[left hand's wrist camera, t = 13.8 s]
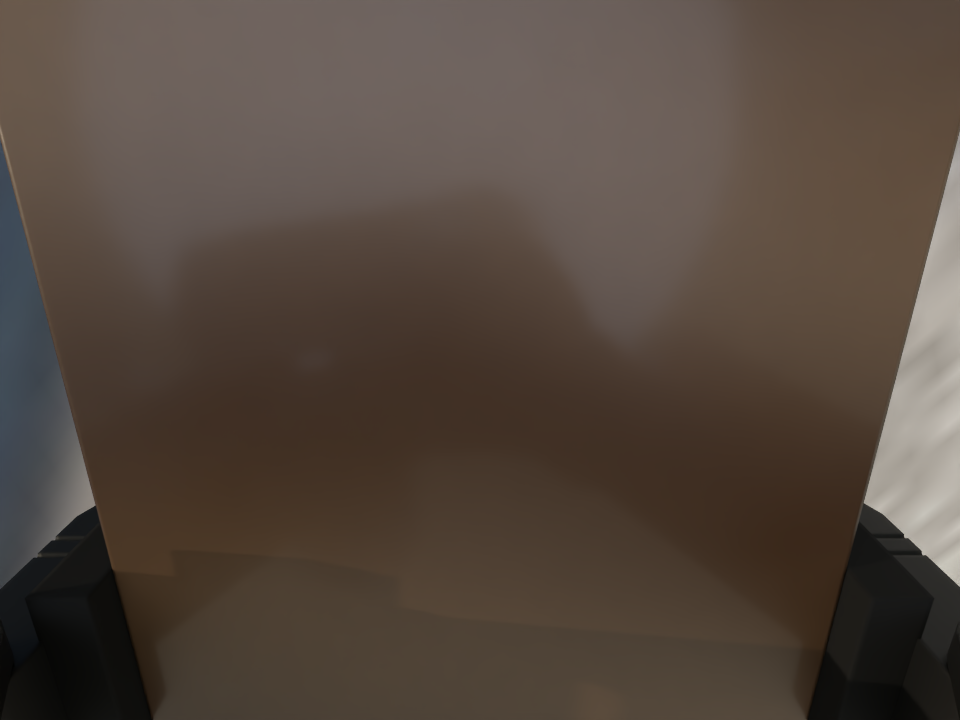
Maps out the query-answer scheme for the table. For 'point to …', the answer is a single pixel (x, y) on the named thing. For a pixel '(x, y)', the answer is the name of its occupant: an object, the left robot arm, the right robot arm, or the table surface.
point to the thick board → (479, 335)
